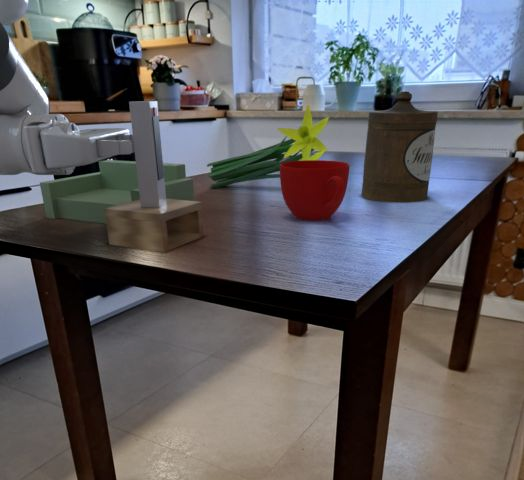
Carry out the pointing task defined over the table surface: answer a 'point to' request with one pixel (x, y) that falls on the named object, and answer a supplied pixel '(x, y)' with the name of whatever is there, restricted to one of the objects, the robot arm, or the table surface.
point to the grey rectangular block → (148, 153)
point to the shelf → (154, 224)
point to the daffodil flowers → (271, 155)
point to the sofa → (107, 190)
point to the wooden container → (399, 152)
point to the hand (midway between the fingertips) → (141, 144)
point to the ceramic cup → (313, 187)
